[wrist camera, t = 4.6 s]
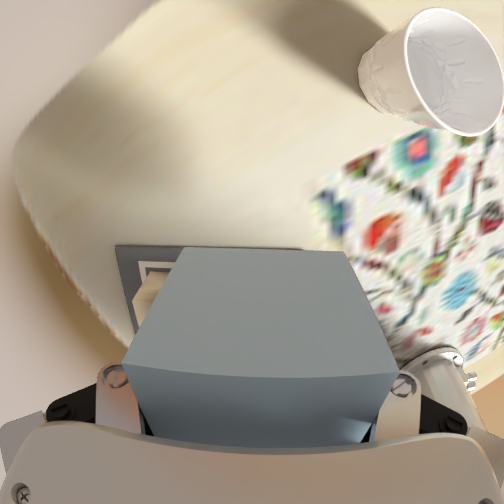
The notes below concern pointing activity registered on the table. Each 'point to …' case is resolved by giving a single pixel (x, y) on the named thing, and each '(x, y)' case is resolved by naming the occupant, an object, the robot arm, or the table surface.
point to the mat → (142, 268)
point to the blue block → (261, 351)
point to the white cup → (435, 73)
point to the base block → (147, 294)
